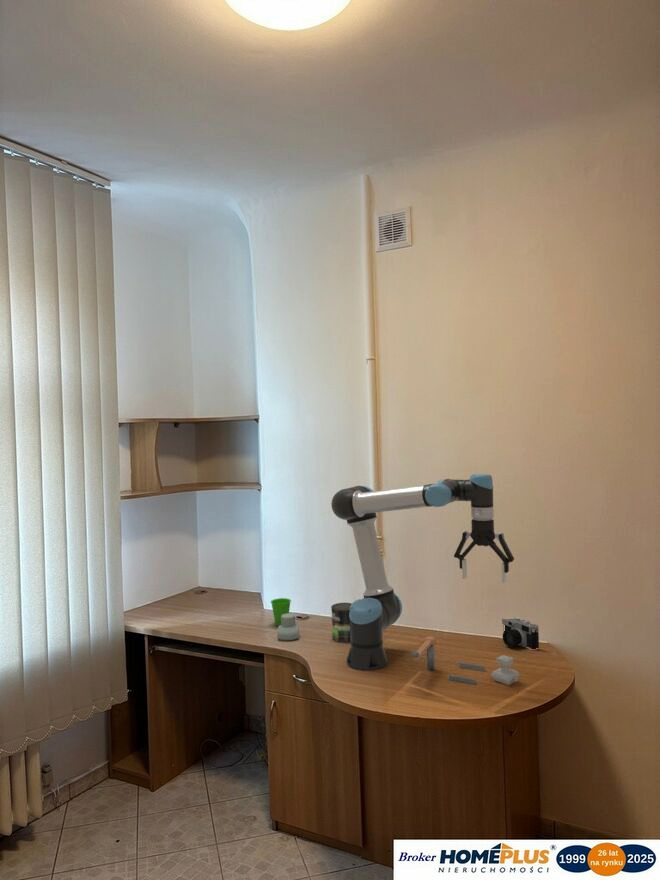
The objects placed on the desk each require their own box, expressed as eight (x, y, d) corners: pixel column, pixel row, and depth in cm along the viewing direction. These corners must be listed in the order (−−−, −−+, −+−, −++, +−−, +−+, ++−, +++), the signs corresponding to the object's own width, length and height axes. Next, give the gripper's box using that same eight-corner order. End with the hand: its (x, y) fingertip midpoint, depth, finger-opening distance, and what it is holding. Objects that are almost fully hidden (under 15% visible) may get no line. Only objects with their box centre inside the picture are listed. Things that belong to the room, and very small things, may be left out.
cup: (294, 627, 265) (293, 602, 265) (274, 630, 262) (273, 605, 262) (288, 621, 273) (287, 597, 273) (269, 624, 270) (268, 599, 270)
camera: (490, 641, 241) (489, 616, 241) (509, 636, 246) (508, 612, 246) (523, 655, 226) (522, 628, 225) (542, 650, 230) (542, 623, 230)
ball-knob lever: (426, 640, 216) (426, 633, 216) (436, 641, 214) (436, 634, 214) (409, 661, 197) (408, 653, 197) (419, 662, 196) (419, 655, 196)
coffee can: (339, 646, 240) (338, 611, 240) (327, 639, 249) (326, 605, 249) (362, 641, 245) (361, 607, 244) (349, 634, 254) (348, 601, 253)
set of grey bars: (418, 677, 209) (417, 649, 209) (430, 663, 220) (429, 637, 220) (475, 687, 200) (474, 658, 199) (485, 672, 211) (484, 645, 210)
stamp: (523, 683, 200) (522, 658, 200) (512, 689, 196) (511, 664, 195) (499, 675, 207) (498, 651, 206) (488, 681, 202) (487, 656, 202)
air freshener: (298, 643, 245) (297, 619, 245) (277, 644, 245) (277, 619, 245) (299, 634, 256) (298, 610, 256) (279, 635, 256) (278, 611, 256)
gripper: (444, 518, 212) (445, 579, 212) (517, 522, 200) (518, 586, 200) (450, 515, 218) (452, 574, 219) (521, 518, 206) (523, 580, 207)
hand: (484, 580), depth 209 cm, fingers open, 13 cm apart
